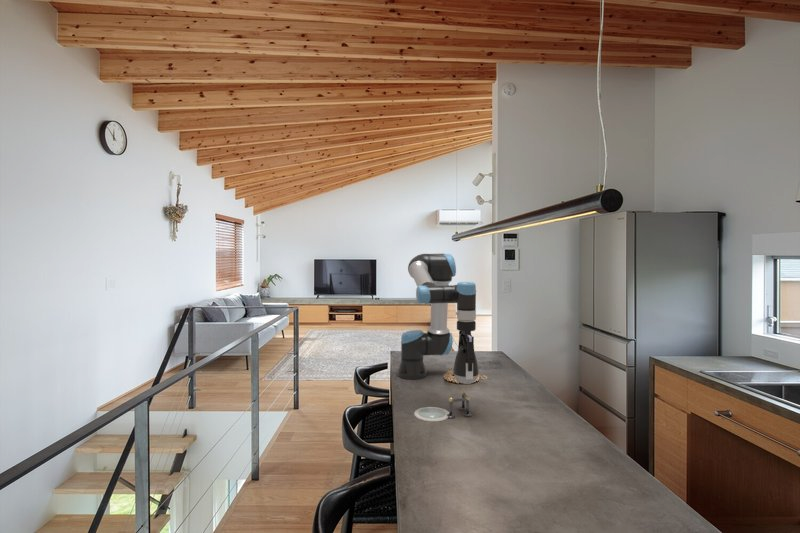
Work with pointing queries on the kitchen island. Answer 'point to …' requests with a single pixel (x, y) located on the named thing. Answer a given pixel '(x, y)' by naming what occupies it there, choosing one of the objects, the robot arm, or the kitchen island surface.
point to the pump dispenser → (464, 367)
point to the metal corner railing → (463, 399)
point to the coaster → (431, 414)
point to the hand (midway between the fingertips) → (465, 375)
